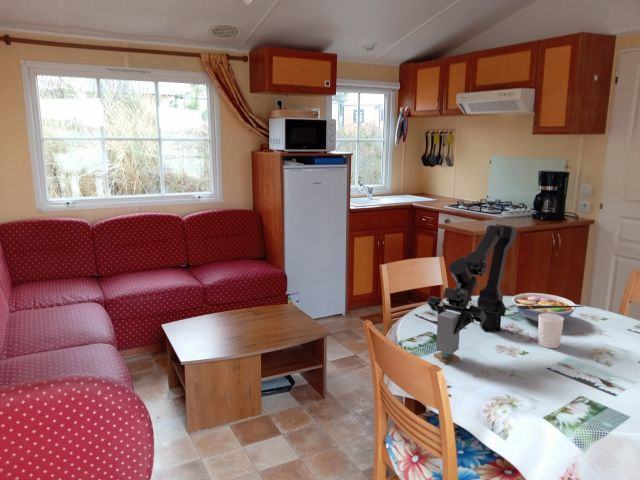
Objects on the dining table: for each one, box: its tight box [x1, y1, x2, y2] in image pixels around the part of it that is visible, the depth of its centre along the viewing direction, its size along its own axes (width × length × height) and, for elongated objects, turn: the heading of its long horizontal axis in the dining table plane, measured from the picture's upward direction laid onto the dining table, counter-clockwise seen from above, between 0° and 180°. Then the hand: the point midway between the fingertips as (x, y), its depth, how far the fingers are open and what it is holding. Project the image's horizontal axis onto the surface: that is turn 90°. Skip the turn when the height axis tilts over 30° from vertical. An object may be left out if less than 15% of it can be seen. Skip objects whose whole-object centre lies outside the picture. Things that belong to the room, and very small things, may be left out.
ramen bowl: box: [511, 292, 585, 323], centre depth 196 cm, size 25×23×8 cm
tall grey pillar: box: [435, 310, 461, 354], centre depth 162 cm, size 5×5×12 cm
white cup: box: [537, 313, 565, 349], centre depth 173 cm, size 8×8×10 cm
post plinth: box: [433, 351, 461, 364], centre depth 163 cm, size 6×6×6 cm
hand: (446, 331), depth 161 cm, fingers closed on tall grey pillar, 5 cm apart
